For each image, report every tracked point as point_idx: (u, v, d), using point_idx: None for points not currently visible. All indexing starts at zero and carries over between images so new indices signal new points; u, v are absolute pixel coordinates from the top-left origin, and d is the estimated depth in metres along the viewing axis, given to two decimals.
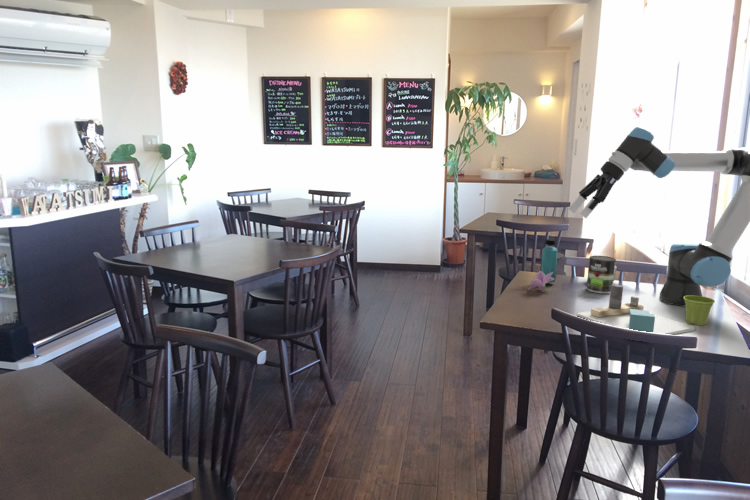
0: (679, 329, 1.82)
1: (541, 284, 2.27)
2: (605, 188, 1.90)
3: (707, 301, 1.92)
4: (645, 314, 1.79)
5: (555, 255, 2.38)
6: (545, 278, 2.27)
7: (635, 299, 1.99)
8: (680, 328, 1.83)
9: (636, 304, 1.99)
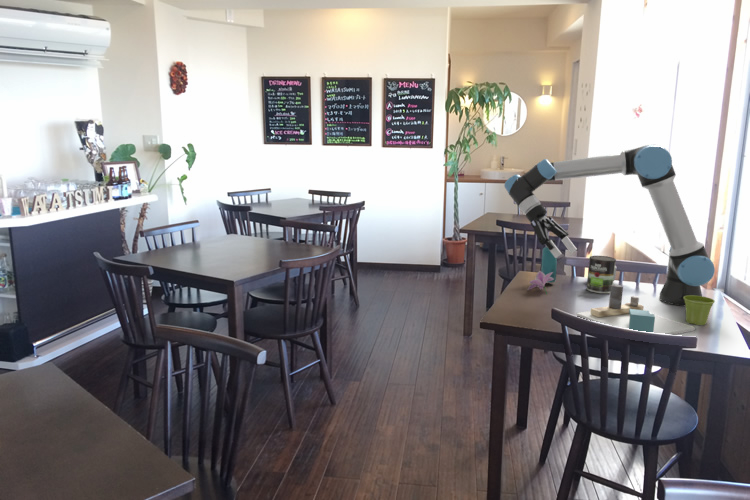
0: (679, 329, 1.82)
1: (541, 284, 2.28)
2: (536, 232, 2.06)
3: (707, 301, 1.92)
4: (645, 314, 1.79)
5: None
6: (545, 278, 2.27)
7: (635, 299, 1.99)
8: (680, 328, 1.83)
9: (636, 304, 1.99)
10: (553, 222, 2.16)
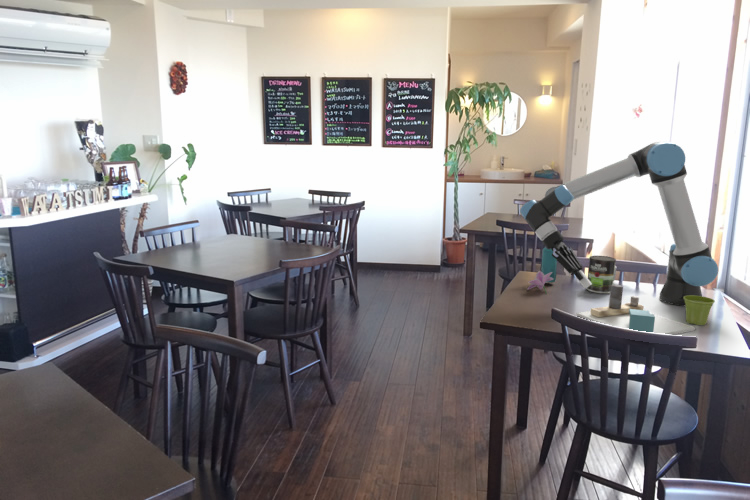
0: (679, 329, 1.82)
1: (540, 284, 2.28)
2: (562, 263, 2.04)
3: (707, 301, 1.92)
4: (645, 314, 1.79)
5: None
6: (544, 278, 2.27)
7: (635, 299, 1.99)
8: (680, 328, 1.83)
9: (636, 304, 1.99)
10: (570, 252, 2.10)
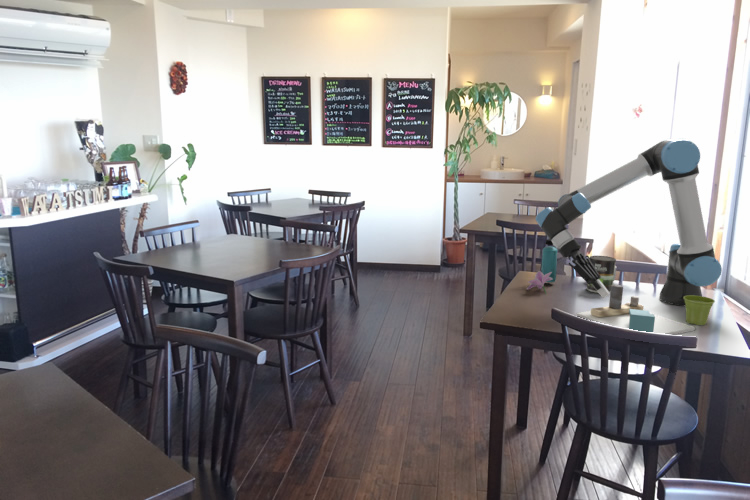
0: (679, 329, 1.82)
1: (540, 284, 2.28)
2: (579, 272, 2.00)
3: (707, 301, 1.92)
4: (645, 314, 1.79)
5: (555, 255, 2.38)
6: (544, 278, 2.27)
7: (635, 299, 1.99)
8: (680, 328, 1.83)
9: (636, 304, 1.99)
10: (587, 260, 2.06)
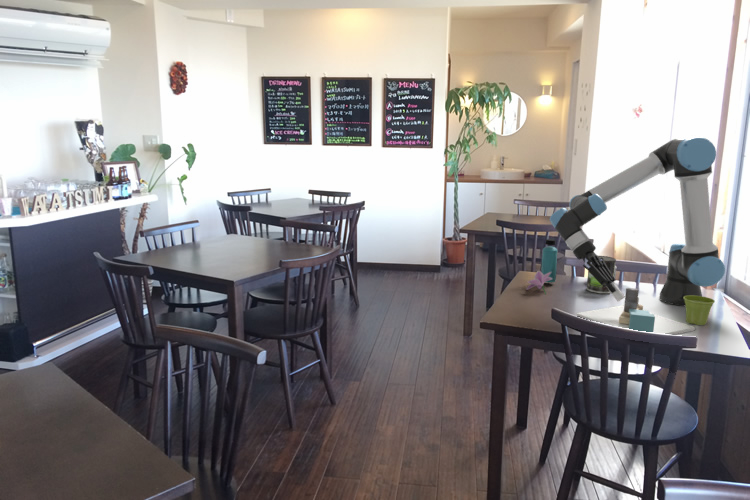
0: (679, 329, 1.82)
1: (539, 284, 2.28)
2: (594, 274, 1.96)
3: (707, 301, 1.92)
4: (645, 314, 1.79)
5: (555, 255, 2.38)
6: (543, 278, 2.28)
7: (637, 299, 1.99)
8: (680, 328, 1.83)
9: (637, 304, 2.00)
10: (602, 263, 2.02)
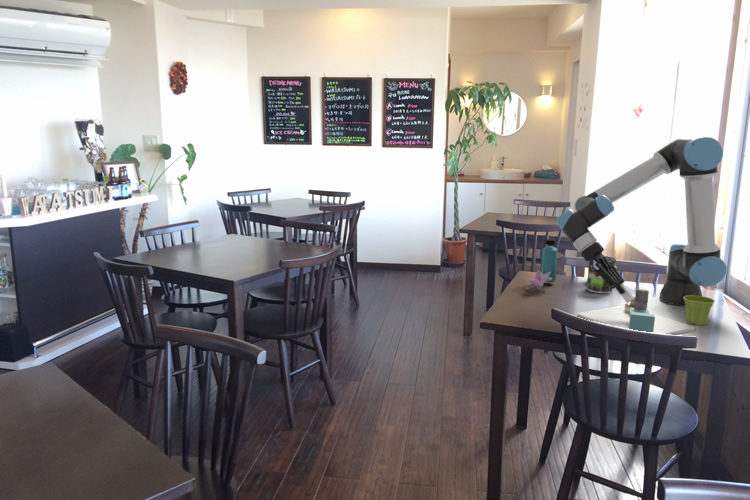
0: (679, 329, 1.82)
1: (539, 284, 2.28)
2: (603, 276, 1.94)
3: (707, 301, 1.92)
4: (645, 314, 1.79)
5: (555, 255, 2.38)
6: (543, 278, 2.28)
7: None
8: (680, 328, 1.83)
9: None
10: (610, 264, 2.00)
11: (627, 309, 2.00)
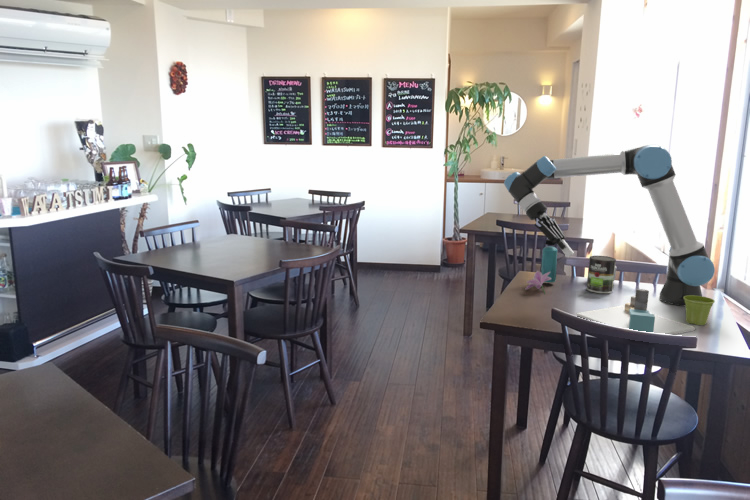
0: (679, 329, 1.82)
1: (538, 284, 2.28)
2: (545, 233, 2.07)
3: (707, 301, 1.92)
4: (645, 314, 1.79)
5: (555, 255, 2.38)
6: (542, 278, 2.28)
7: None
8: (680, 328, 1.83)
9: None
10: (553, 222, 2.14)
11: (627, 309, 2.00)
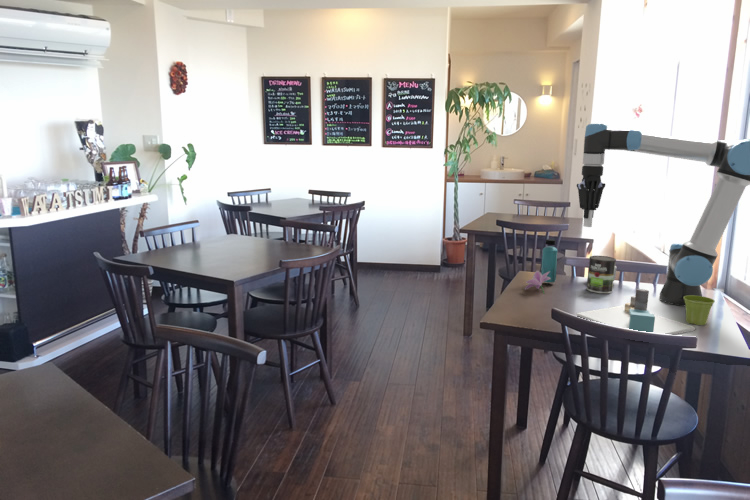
0: (679, 329, 1.82)
1: (538, 283, 2.28)
2: (580, 196, 2.10)
3: (707, 301, 1.92)
4: (645, 314, 1.79)
5: (555, 255, 2.38)
6: (542, 277, 2.28)
7: None
8: (680, 328, 1.83)
9: None
10: (600, 189, 2.12)
11: (627, 309, 2.00)
